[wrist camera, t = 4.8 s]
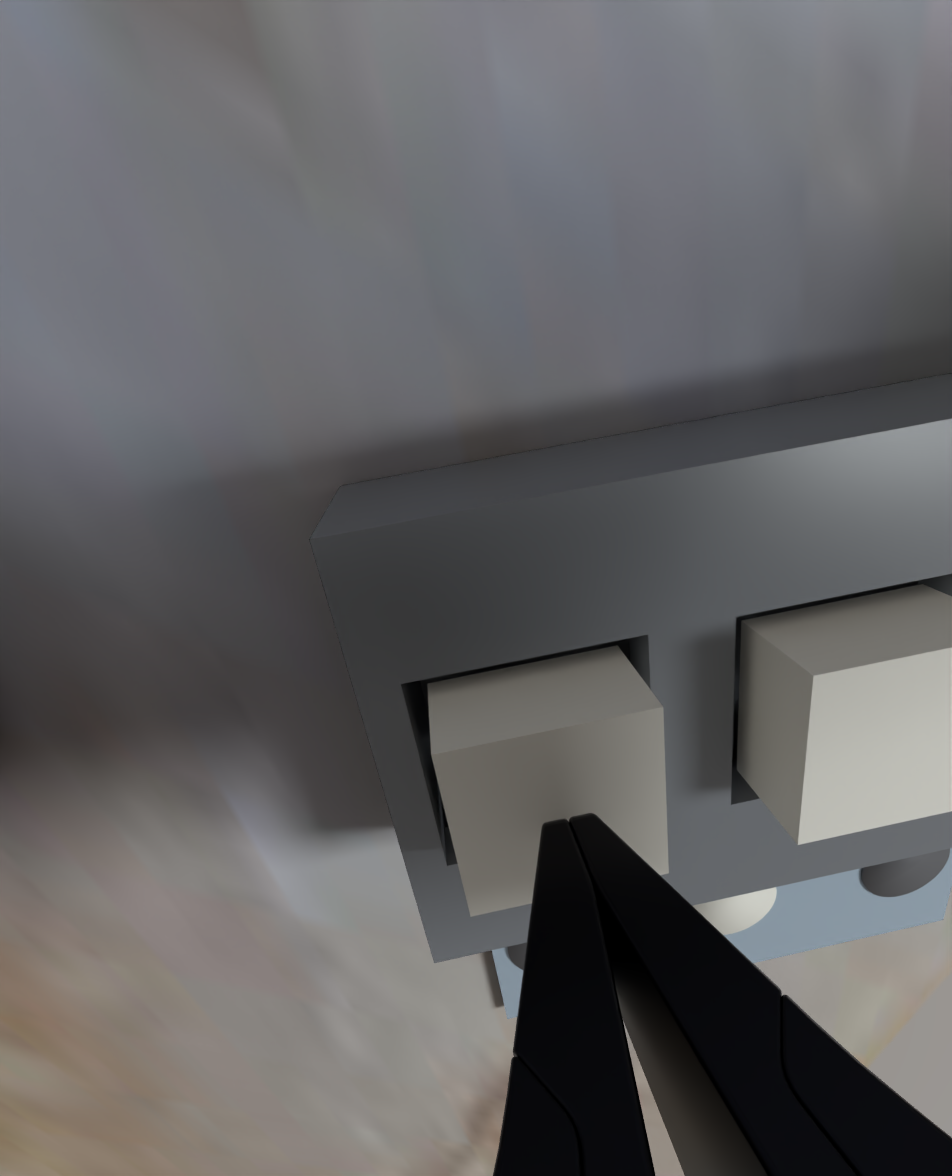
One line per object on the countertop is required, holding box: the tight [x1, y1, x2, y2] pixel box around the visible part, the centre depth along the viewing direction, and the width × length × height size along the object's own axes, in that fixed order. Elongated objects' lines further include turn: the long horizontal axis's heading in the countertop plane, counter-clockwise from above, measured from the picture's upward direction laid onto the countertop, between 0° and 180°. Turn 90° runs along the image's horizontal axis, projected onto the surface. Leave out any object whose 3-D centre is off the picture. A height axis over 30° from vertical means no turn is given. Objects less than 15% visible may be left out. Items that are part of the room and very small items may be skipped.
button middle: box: [737, 584, 952, 845], centre depth 10 cm, size 4×4×2 cm
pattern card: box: [492, 848, 952, 1019], centre depth 18 cm, size 16×7×1 cm, turn 100°
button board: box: [309, 373, 952, 963], centre depth 12 cm, size 18×10×4 cm, turn 100°
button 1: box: [427, 645, 669, 917], centre depth 10 cm, size 4×4×2 cm
